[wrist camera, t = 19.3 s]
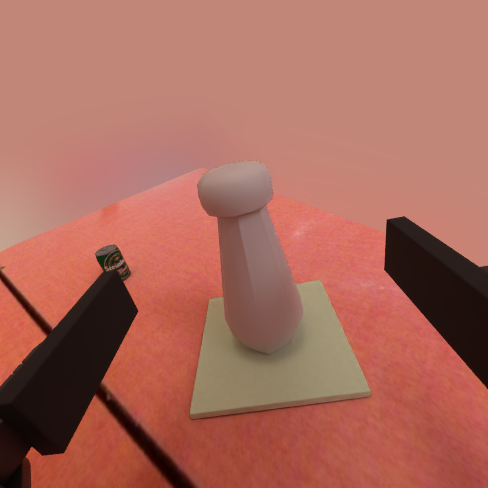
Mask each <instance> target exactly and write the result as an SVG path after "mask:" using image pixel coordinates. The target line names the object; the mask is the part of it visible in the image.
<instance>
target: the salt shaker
mask: <svg viewBox="0 0 488 488" xmlns="http://www.w3.org/2000/svg"><path fill="white" fill-rule="evenodd" d="M197 188H198V196H199V199H200V202H201V205H202V207H203V208H204V210H205V211H206V212H207V214H208V215H209V216H215V217H217V219H218V231H219V245H220V259H221V272H222V286H223V299H224V313H225V320H226V322H227V324H228V326H229V328H230V330H231V332H232V334H233V336H235V337H236V338H237V339H238V340H239V341H240V342H241V343H242V344H244V345H245V346H246V347H247V348H249V349H252V350H256V351H259V352H262V353H265V354H268V355H270V354H272V353H274V352H276V351H278V350H280V349H282V348H283V347H285V346H287V345H289V344H291V342H292V340H293V337H294V335H295V332H296V330H297V327H298V325H299V323H300V321H301V318H302V316H303V307H302V302H301V297H300V294H299V292H298V289H297V286H296V284H295V281H294V278H293V276H292V273H291V270H290V268H289V265H288V262H287V260H286V257H285V254H284V252H283V249H282V246H281V244H280V241H279V238H278V236H277V233H276V231H275V228H274V225H273V223H272V220H271V217H270V215H269V212H268V209H267V207H266V205H267V204H268V203H269V202H270V201H271V200H272V195H273V190H272V181H271V176H270V173H269V170H268V167H266V166H265V165H264V164H262V163H261V162H256V161H241V162H234V163H230V164H226V165H222V166H220V167H216V168H214V169H212V170H210V171H208V172H207V173H205V174H203V176H202V177H201V179H200V181H199V182H198V184H197Z"/></svg>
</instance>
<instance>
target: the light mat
mask: <svg viewBox="0 0 488 488" xmlns="http://www.w3.org/2000/svg"><path fill="white" fill-rule="evenodd" d="M296 286H297V289H298V292H299V294H300V297H301V302H302V307H303V316H302V318H301V321H300V323H299V325H298V327H297V330H296V332H295V335H294V337H293V340H292V342H291V344H289V345H287V346H285V347H283V348H282V349H280V350H278V351H276V352H274V353H272V354H270V355H268V354H265V353H262V352H259V351H256V350H252V349H249V348H247V347H246V346H245V345H244V344H242V343H241V342H240V341H239V340H238V339H237V338H236V337H235V336H233V334H232V332H231V330H230V328H229V326H228V324H227V322H226V320H225V313H224V299H223V297H217V298H211V299H209V304H208V310H207V316H206V321H205V327H204V333H203V338H202V344H201V350H200V355H199V361H198V367H197V372H196V378H195V384H194V390H193V395H192V401H191V407H190V412H189V415H190V417H191V419H198V418H206V417H214V416H222V415H229V414H237V413H245V412H253V411H261V410H269V409H276V408H284V407H292V406H300V405H308V404H315V403H323V402H331V401H339V400H347V399H355V398H362V397H370V396H371V390H370V388H369V385H368V383H367V381H366V379H365V377H364V374H363V372H362V370H361V368H360V366H359V363H358V361H357V359H356V357H355V355H354V352H353V350H352V348H351V346H350V344H349V341H348V339H347V337H346V335H345V333H344V330H343V328H342V326H341V324H340V321H339V319H338V317H337V315H336V313H335V310H334V308H333V306H332V304H331V302H330V299H329V297H328V295H327V293H326V291H325V288H324V286H323V284H322V282H321V280H316V281H310V282H305V283H299V284H296Z"/></svg>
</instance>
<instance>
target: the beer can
mask: <svg viewBox="0 0 488 488" xmlns="http://www.w3.org/2000/svg"><path fill="white" fill-rule="evenodd" d="M95 255H96V258H97V261H98V262H99V264H100V266H101V268H102V270H103V271H104V272H108V271H113V270H117V271H118V273H119V275H120V277H121V279H122V281H123V280H125V279H126V278H128V277H129V275H130V270H129V268H128V266H127V264H126V262H125V260H124V258H123V256H122V254H121V252H120V250H119V249H118V247H117V246H116V245H108V246H105V247H103V248H101V249H99V250H98V251H97V252H96V253H95Z"/></svg>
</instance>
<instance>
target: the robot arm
mask: <svg viewBox="0 0 488 488" xmlns="http://www.w3.org/2000/svg"><path fill="white" fill-rule="evenodd" d="M384 270H385V271H386V272H387V273H388V274H389V276H390V277H391V278H392V279H393V280H394V281H395V283H396V284H397V285H398V286H399V287H400V288H401V289H402V291H403V292H404V293H405V294H406V295H407V296H408V298H409V299H410V300H411V301H412V302H413V303H414V304H415V306H416V307H417V308H418V309H419V310H420V311H421V313H422V314H423V315H424V316H425V317H426V318H427V319H428V321H429V322H430V323H431V324H432V325H433V326H434V328H435V329H436V330H437V331H438V332H439V333H440V334H441V336H442V337H443V338H444V339H445V340H446V341H447V343H448V344H449V345H450V346H451V347H452V348H453V349H454V351H455V352H456V353H457V354H458V355H459V356H460V358H461V359H462V360H463V361H464V362H465V363H466V364H467V366H468V367H469V368H470V369H471V370H472V371H473V373H474V374H475V375H476V376H477V377H478V378H479V379H480V381H481V382H482V383H483V384H484V385H485V386H486V388H487V389H488V266H483V267H478V266H477V265H476V264H474V263H472V262H471V261H470V260H468V259H467V258H465V257H464V256H462V255H461V254H459V253H458V252H456V251H455V250H453V249H452V248H450V247H449V246H447V245H446V244H444V243H443V242H441V241H440V240H439V239H437V238H435V237H434V236H433V235H431V234H430V233H428V232H427V231H425V230H424V229H422V228H421V227H419V226H418V225H416V224H415V223H413V222H412V221H410V220H409V219H407V218H406V217H399V218H393V219H388V220H387V226H386V246H385V267H384ZM137 313H138V309H137V307H136V305H135V303H134V302H133V300H132V298H131V296H130V294H129V292H128V290H127V288H126V286H125V284H124V282H123V281H122V279H121V277H120V275H119V273H118V271H117V270H113V271H108V272H103V273H102V274H101V275H100V276H99V277H98V278H97V280H96V281H95V282H94V283H93V284H92V285H91V287H90V288H89V289H88V290H87V291H86V292H85V294H84V295H83V296H82V297H81V298H80V299H79V300H78V302H77V303H76V304H75V305H74V306H73V307H72V309H71V310H70V311H69V312H68V313H67V314H66V316H65V317H64V318H63V319H62V320H61V321H60V322H59V324H58V325H57V326H56V327H55V328H54V329H53V331H52V332H51V333H50V334H49V335H48V336H47V338H46V339H45V340H44V341H43V342H42V343H40V344H39V345H38V346H37V347H35V348H34V349H33V350H32V351H31V352H30V353H29V355H28V356H27V357H26V358H25V359H24V360H23V361H22V364H20V365H19V366H18V367H17V368H16V369H15V371H14V372H13V374H12V375H10V376H9V377H8V379H7V380H6V381H5V382H4V383H3V384H2V385H1V386H0V488H31V465H30V462H29V460H28V459H27V458H26V457H25V456H26V455H27V453H28V451H29V450H30V448H31V447H33V448H34V449H36V450H37V451H38V452H39V453H40V454H41V455H42V456H44V455H53V454H62V453H64V452H65V450H66V448H67V446H68V444H69V443H70V441H71V439H72V437H73V435H74V433H75V431H76V429H77V427H78V425H79V423H80V422H81V420H82V418H83V416H84V414H85V412H86V410H87V408H88V406H89V404H90V402H91V401H92V399H93V397H94V395H95V393H96V391H97V389H98V387H99V385H100V383H101V381H102V380H103V378H104V376H105V374H106V372H107V370H108V368H109V366H110V364H111V362H112V360H113V359H114V357H115V355H116V353H117V351H118V349H119V347H120V345H121V343H122V341H123V339H124V338H125V336H126V334H127V332H128V330H129V328H130V326H131V324H132V322H133V320H134V318H135V317H136V315H137Z"/></svg>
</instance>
